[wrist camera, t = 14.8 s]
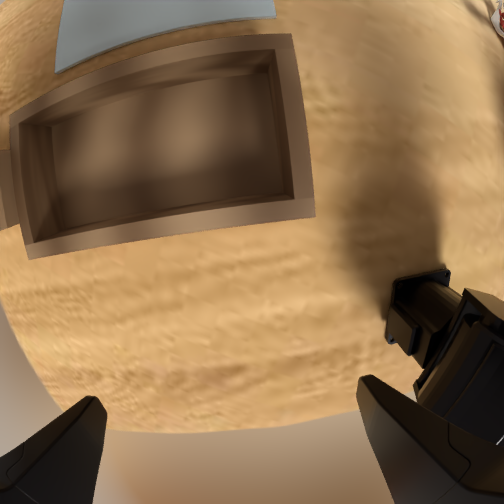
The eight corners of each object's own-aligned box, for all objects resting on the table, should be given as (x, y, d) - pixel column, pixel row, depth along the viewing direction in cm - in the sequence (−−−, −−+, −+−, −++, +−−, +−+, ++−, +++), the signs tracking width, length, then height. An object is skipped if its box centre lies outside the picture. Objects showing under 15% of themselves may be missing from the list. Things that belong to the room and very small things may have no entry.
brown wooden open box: (278, 64, 15) (313, -18, 6) (296, 204, 18) (353, 243, 9) (6, 144, 15) (-75, 150, 6) (22, 249, 18) (-53, 293, 9)
